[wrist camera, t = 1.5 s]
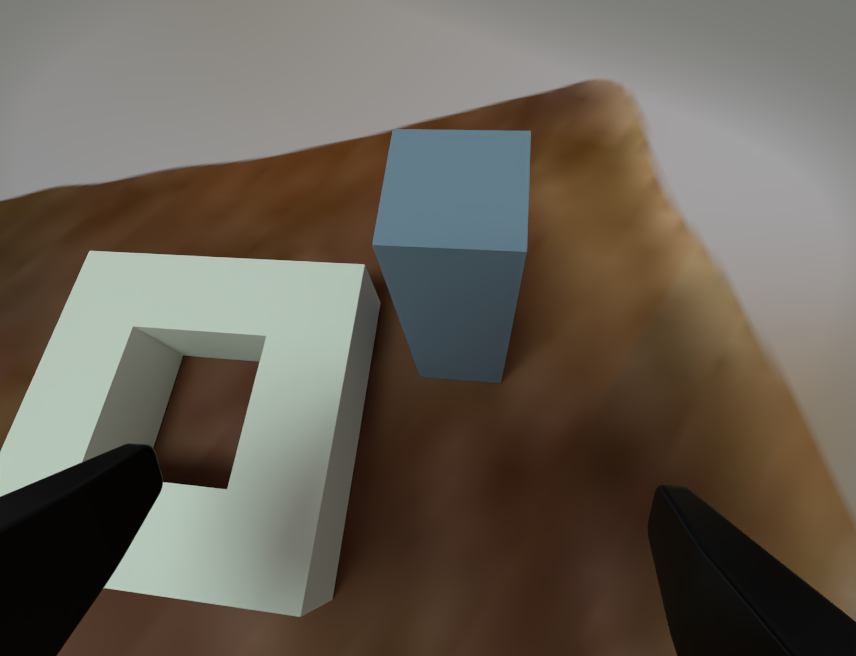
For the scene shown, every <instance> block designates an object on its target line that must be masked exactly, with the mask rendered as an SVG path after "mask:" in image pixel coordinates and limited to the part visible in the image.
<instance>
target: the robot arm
mask: <svg viewBox="0 0 856 656" xmlns="http://www.w3.org/2000/svg"><path fill="white" fill-rule="evenodd" d="M162 486H163V477H162V474H161V470H160V467H159V463H158V460H157V456H156V453H155V450H154V448H153V447H152V446H151V445H148V444H139V443H127V444H124V445H122V446H120V447H117V448H115V449H112V450H110V451H108V452H105V453H103V454H101V455H98V456H96V457H93V458H91V459H89V460H86V461H84V462H82V463H79V464H77V465H74V466H72V467H70V468H67V469H65V470H63V471H60V472H58V473H55V474H53V475H51V476H48V477H46V478H44V479H41V480H39V481H36V482H34V483H32V484H29V485H27V486H25V487H22V488H20V489H17V490H15V491H13V492H10V493H8V494H6V495H3V496H1V497H0V656H57V654H58V653H59V651H60V650H61V649H62V647H63V646H64V644H65V643H66V641H67V640H68V638H69V637H70V636H71V634H72V633H73V631H74V630H75V628H76V627H77V625H78V624H79V623H80V621H81V620H82V618H83V617H84V615H85V614H86V612H87V611H88V610H89V608H90V607H91V605H92V604H93V602H94V601H95V600H96V598H97V597H98V595H99V594H100V592H101V591H102V589H103V588H104V587H105V585H106V584H107V582H108V581H109V579H110V578H111V576H112V575H113V573H114V572H115V570H116V569H117V567H118V565H119V564H120V562H121V560H122V559H123V557H124V555H125V553H126V552H127V550H128V548H129V547H130V545H131V543H132V541H133V540H134V538H135V536H136V534H137V533H138V531H139V529H140V527H141V526H142V524H143V522H144V520H145V519H146V517H147V515H148V513H149V512H150V510H151V508H152V506H153V505H154V503H155V501H156V499H157V498H158V496H159V494H160V492H161V490H162ZM648 537H649V542H650V546H651V551H652V555H653V560H654V564H655V569H656V573H657V577H658V582H659V586H660V591H661V595H662V600H663V604H664V609H665V613H666V618H667V622H668V626H669V630H670V634H671V637H672V640H673V644H674V647H675V650H676V653H677V656H856V622H855V621H854V620H853V619H852V618H850V617H849V616H848V615H847V614H845V613H844V612H843V611H842V610H840V609H839V608H838V607H836V606H835V605H834V604H833V603H831V602H830V601H829V600H828V599H826V598H825V597H824V596H823V595H821V594H820V593H819V592H818V591H816V590H815V589H814V588H813V587H811V586H810V585H809V584H807V583H806V582H805V581H804V580H802V579H801V578H800V577H799V576H797V575H796V574H795V573H794V572H792V571H791V570H790V569H789V568H787V567H786V566H785V565H784V564H782V563H781V562H780V561H779V560H777V559H776V558H775V557H773V556H772V555H771V554H770V553H768V552H767V551H766V550H765V549H763V548H762V547H761V546H760V545H758V544H757V543H756V542H755V541H753V540H752V539H751V538H750V537H748V536H747V535H746V534H744V533H743V532H742V531H741V530H739V529H738V528H737V527H736V526H734V525H733V524H732V523H731V522H729V521H728V520H727V519H726V518H724V517H723V516H722V515H721V514H719V513H718V512H717V511H716V510H714V509H713V508H712V507H710V506H709V505H708V504H707V503H705V502H704V501H703V500H702V499H700V498H699V497H698V496H697V495H695V494H694V493H693V492H692V491H690V490H689V489H687V488H686V487H682V486H671V485H660V486H658V487H657V489H656V491H655V494H654V499H653V503H652V508H651V512H650V516H649V521H648Z"/></svg>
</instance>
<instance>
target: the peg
mask: <svg viewBox="0 0 856 656" xmlns="http://www.w3.org/2000/svg"><path fill="white" fill-rule="evenodd" d="M530 142H531V131H495V130H417V129H393V131H392V137H391V142H390V148H389V154H388V159H387V165H386V170H385V176H384V182H383V187H382V193H381V198H380V204H379V210H378V215H377V221H376V226H375V232H374V238H373V243H372V246H373V249H374V251H375V254H376V257H377V260H378V262H379V265H380V268H381V271H382V273H383V276H384V279H385V282H386V284H387V287H388V290H389V293H390V295H391V298H392V301H393V304H394V307H395V309H396V312H397V315H398V318H399V320H400V323H401V326H402V329H403V331H404V334H405V337H406V340H407V342H408V345H409V348H410V351H411V353H412V356H413V359H414V362H415V364H416V367H417V370H418V373H419V375H420V377H426V378H439V379H452V380H464V381H477V382H490V383H501V381H502V376H503V371H504V366H505V361H506V356H507V351H508V346H509V340H510V335H511V330H512V325H513V320H514V315H515V310H516V305H517V300H518V295H519V290H520V285H521V280H522V274H523V269H524V264H525V259H526V254H527V235H528V204H529V173H530Z"/></svg>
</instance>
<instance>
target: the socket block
mask: <svg viewBox="0 0 856 656" xmlns="http://www.w3.org/2000/svg"><path fill="white" fill-rule="evenodd" d="M380 303H381V302H380V300H379V298H378V295H377V293H376V290H375V288H374V286H373V283H372V281H371V278H370V276H369V274H368V271H367V269H366V266H365V265H364V264H344V263H324V262H304V261H284V260H264V259H244V258H224V257H203V256H183V255H163V254H143V253H123V252H103V251H89V253H88V255H87V257H86V260H85V262H84V264H83V266H82V269H81V271H80V273H79V276H78V278H77V280H76V282H75V285H74V287H73V289H72V291H71V294H70V296H69V298H68V300H67V303H66V305H65V307H64V309H63V312H62V314H61V316H60V318H59V321H58V323H57V325H56V327H55V330H54V332H53V334H52V336H51V339H50V341H49V343H48V345H47V348H46V350H45V352H44V355H43V357H42V359H41V361H40V364H39V366H38V368H37V370H36V373H35V375H34V377H33V379H32V382H31V384H30V386H29V388H28V391H27V393H26V395H25V397H24V400H23V402H22V404H21V406H20V409H19V411H18V413H17V415H16V418H15V420H14V422H13V424H12V427H11V429H10V431H9V433H8V436H7V438H6V440H5V443H4V445H3V447H2V449H1V452H0V497H1V496H3V495H6V494H8V493H10V492H13V491H15V490H17V489H20V488H22V487H25V486H27V485H29V484H32V483H34V482H36V481H39V480H41V479H44V478H46V477H48V476H51V475H53V474H55V473H58V472H60V471H63V470H65V469H67V468H70V467H72V466H74V465H77V464H79V463H82V462H84V461H86V460H89V459H91V458H93V457H96V456H98V455H101V454H103V453H105V452H108V451H110V450H112V449H115V448H117V447H120V446H122V445H124V444H127V443H139V444H148V445H151V446H152V447H154V444H155V441H156V438H157V435H158V432H159V429H160V426H161V423H162V419H163V416H164V413H165V410H166V407H167V404H168V401H169V398H170V395H171V392H172V389H173V385H174V382H175V379H176V376H177V373H178V370H179V367H180V364H181V361H182V358H183V356H196V357H208V358H221V359H234V360H247V361H260V363H259V367H258V370H257V374H256V378H255V382H254V386H253V390H252V394H251V398H250V402H249V406H248V409H247V413H246V417H245V421H244V425H243V429H242V433H241V437H240V441H239V445H238V448H237V452H236V456H235V460H234V464H233V468H232V472H231V476H230V480H229V484H228V487H227V489H219V488H210V487H201V486H193V485H184V484H175V483H167V482H163V486H162V490H161V492H160V494H159V496H158V498H157V499H156V501H155V503H154V505H153V506H152V508H151V510H150V512H149V513H148V515H147V517H146V519H145V520H144V522H143V524H142V526H141V527H140V529H139V531H138V533H137V534H136V536H135V538H134V540H133V541H132V543H131V545H130V547H129V548H128V550H127V552H126V553H125V555H124V557H123V559H122V560H121V562H120V564H119V565H118V567H117V569H116V570H115V572H114V573H113V575H112V576H111V578H110V579H109V581H108V582H107V584H106V585H105V587H104V588H109V589H115V590H122V591H129V592H136V593H142V594H149V595H156V596H163V597H170V598H176V599H183V600H190V601H197V602H203V603H210V604H217V605H224V606H230V607H237V608H244V609H251V610H257V611H264V612H271V613H278V614H284V615H291V616H298V617H301V616H303V615H305V614H307V613H309V612H310V611H312V610H314V609H316V608H318V607H320V606H322V605H324V604H325V603H327V602H329V601H331V600H333V594H334V587H335V581H336V575H337V569H338V563H339V557H340V550H341V544H342V538H343V532H344V526H345V520H346V513H347V507H348V501H349V495H350V489H351V482H352V476H353V470H354V464H355V458H356V452H357V445H358V439H359V433H360V427H361V421H362V414H363V408H364V402H365V396H366V390H367V384H368V377H369V371H370V365H371V359H372V353H373V347H374V340H375V334H376V328H377V322H378V316H379V309H380Z"/></svg>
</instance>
